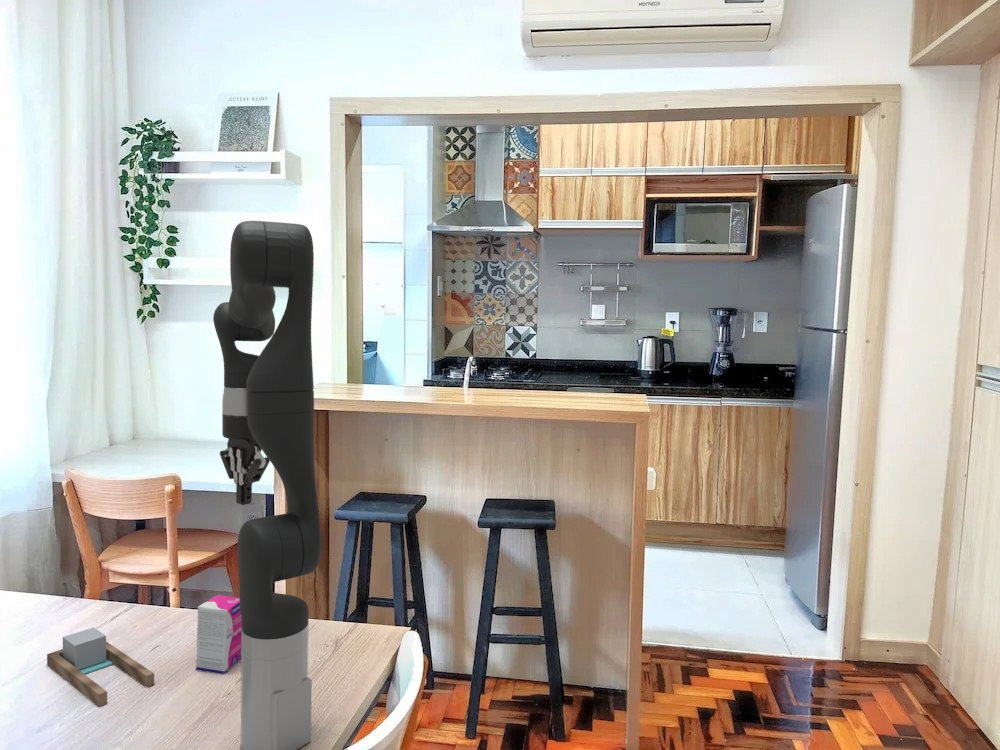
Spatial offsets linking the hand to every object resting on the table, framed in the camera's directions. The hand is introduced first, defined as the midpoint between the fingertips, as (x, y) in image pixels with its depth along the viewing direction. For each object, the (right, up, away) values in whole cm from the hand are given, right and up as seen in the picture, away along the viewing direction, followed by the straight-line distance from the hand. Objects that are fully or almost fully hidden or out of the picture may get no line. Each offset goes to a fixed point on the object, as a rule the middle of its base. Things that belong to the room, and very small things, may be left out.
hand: (243, 503), depth 127 cm
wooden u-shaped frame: (-21, -27, -11) cm, 36 cm away
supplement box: (-2, -28, -6) cm, 28 cm away
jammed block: (-25, -27, -7) cm, 37 cm away
